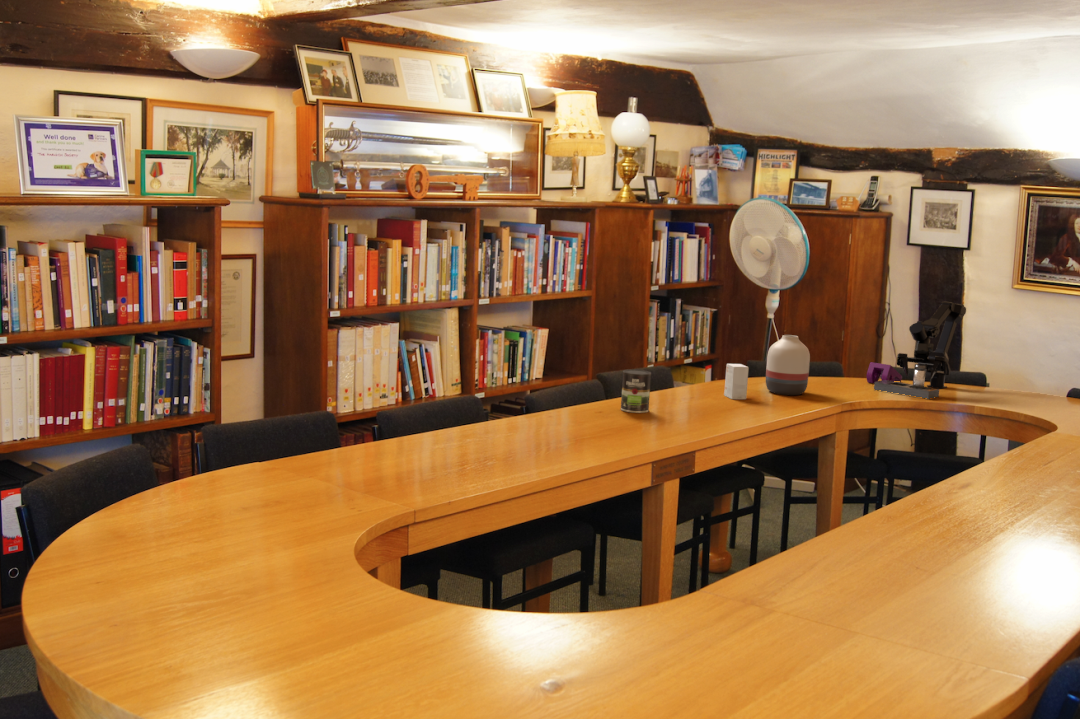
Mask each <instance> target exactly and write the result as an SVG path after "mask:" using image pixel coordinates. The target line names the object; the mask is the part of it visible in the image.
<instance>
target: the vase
mask: <svg viewBox="0 0 1080 719" xmlns="http://www.w3.org/2000/svg"><path fill="white" fill-rule="evenodd" d="M781 336H782V337H781V338H780V339H778V340H777V341H776V342H774V343H773V344H771V346H770V347H769V349H768V352H767V355H766V356H767V357H766V369H765V370H766V371H765V387H766V389H767V390H768V391H769V392H771V393H773V394H776V395H782V396H799V395H802V394H804V393H805V392H806V390H807V387H808V382H809V375H810V361H811V354H810V351H809V350H810V349H809V348H808V347H807V346H806V345H805V344H804V343H803V342H802V341H801V340H800V339H799V336H798V335H792V334H784V335H783V334H782V335H781Z"/></svg>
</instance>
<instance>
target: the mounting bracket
mask: <svg viewBox="0 0 1080 719" xmlns="http://www.w3.org/2000/svg"><path fill="white" fill-rule="evenodd" d="M868 365H869V366H868V369H867V371H866V381H867V383H868V384H872V383H873V384H874V382H877V381H883V380H888V381H900V383H902V379H903V376H902V375H901V374H900V372H898V371H897V370H896V368H894V367H893V366H892V365H891V364H887V363H879V362H878V363H877V362H870V363H869V364H868ZM880 378H881V380H880Z"/></svg>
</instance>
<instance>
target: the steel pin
mask: <svg viewBox="0 0 1080 719" xmlns="http://www.w3.org/2000/svg"><path fill="white" fill-rule="evenodd" d="M926 373H927V367H926V364H919V363H915V364H914V367H913V380H912V385H913V387H912V388H916V389H924V387H925V380H926V379H925V378H926Z"/></svg>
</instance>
